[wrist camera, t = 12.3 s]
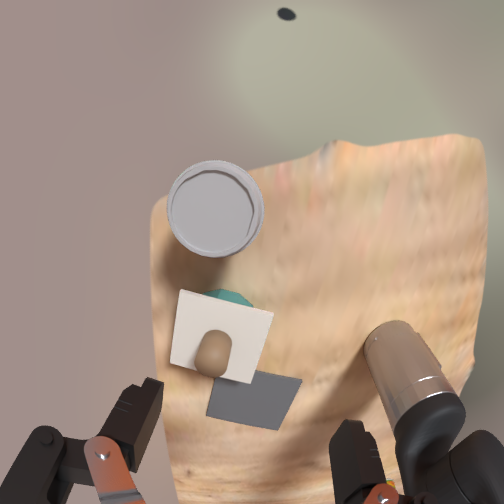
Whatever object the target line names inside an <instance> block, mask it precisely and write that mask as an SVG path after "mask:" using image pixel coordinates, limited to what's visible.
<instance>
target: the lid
mask: <svg viewBox="0 0 504 504" xmlns="http://www.w3.org/2000/svg"><path fill="white" fill-rule="evenodd" d="M273 316H274V313H273V312H268V311H264V310H260V309H256V308H252V307H248V306H244V305H240V304H236V303H232V302H228V301H224V300H221V299H217V298H213V297H209V296H206V295H202V294H198V293H195V292H191V291H187V290H184V289H181V290H180V293H179V300H178V306H177V313H176V320H175V327H174V334H173V341H172V349H171V357H170V363H172V364H175V365H179V366H182V367H185V368H189V369H192V370H196V371H198V372H199V373H201V374H202V375H204V376H207V377H212V378H215V377H223V378H227V379H231V380H235V381H239V382H244V383H248V384H251V381H252V378H253V375H254V372H255V370H256V367H257V364H258V361H259V358H260V355H261V352H262V349H263V346H264V343H265V340H266V337H267V334H268V331H269V328H270V325H271V322H272V319H273Z"/></svg>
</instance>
